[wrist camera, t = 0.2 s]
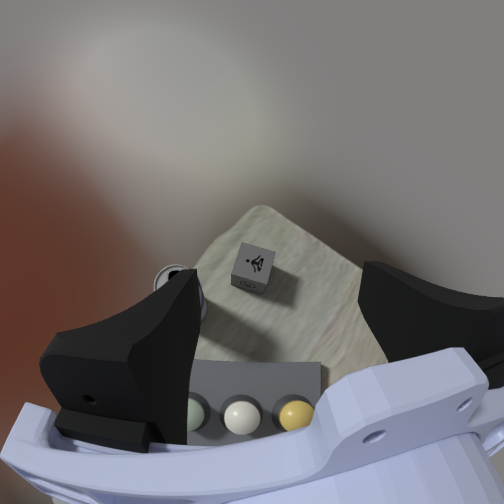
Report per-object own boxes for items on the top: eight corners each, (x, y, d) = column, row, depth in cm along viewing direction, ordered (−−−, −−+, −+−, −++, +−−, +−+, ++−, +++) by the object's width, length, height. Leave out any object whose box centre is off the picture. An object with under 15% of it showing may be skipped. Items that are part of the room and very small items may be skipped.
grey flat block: (314, 455, 34) (318, 459, 32) (163, 452, 32) (160, 456, 30) (316, 362, 40) (320, 361, 38) (165, 357, 38) (162, 356, 36)
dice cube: (262, 294, 43) (266, 284, 39) (230, 284, 44) (231, 274, 39) (270, 264, 46) (275, 251, 41) (240, 255, 46) (241, 242, 41)
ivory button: (258, 431, 32) (259, 434, 30) (224, 430, 32) (223, 434, 30) (259, 400, 34) (260, 402, 32) (224, 399, 34) (224, 401, 32)
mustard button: (310, 429, 32) (314, 432, 31) (278, 431, 32) (280, 434, 30) (311, 399, 34) (315, 400, 32) (278, 400, 34) (281, 402, 32)
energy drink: (205, 290, 43) (197, 260, 32) (208, 325, 41) (201, 307, 30) (170, 293, 42) (151, 264, 31) (173, 327, 40) (152, 311, 29)
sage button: (204, 429, 32) (202, 432, 30) (170, 426, 31) (167, 429, 30) (204, 398, 33) (203, 400, 32) (171, 395, 33) (168, 396, 31)
